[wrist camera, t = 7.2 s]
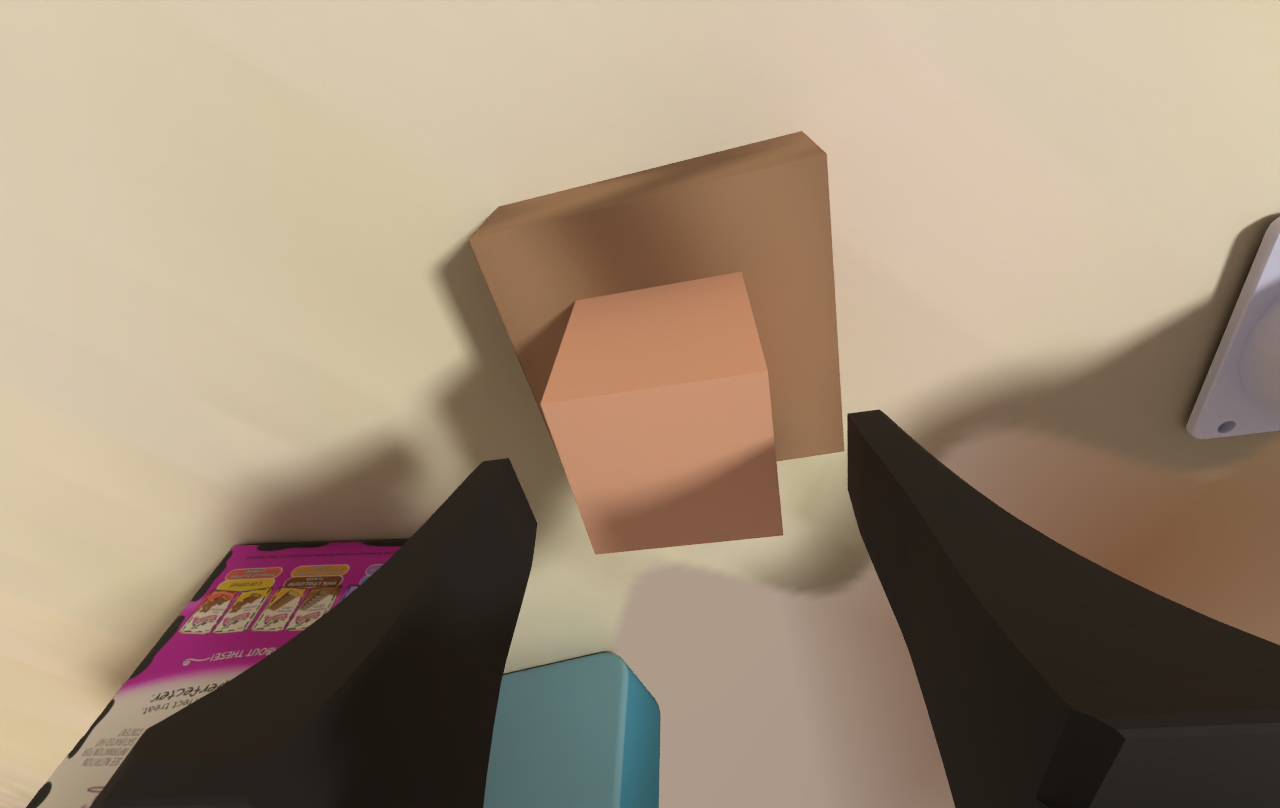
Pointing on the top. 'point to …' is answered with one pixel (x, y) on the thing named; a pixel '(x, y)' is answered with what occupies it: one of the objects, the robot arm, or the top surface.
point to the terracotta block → (666, 417)
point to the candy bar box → (215, 646)
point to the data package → (575, 738)
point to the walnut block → (687, 265)
